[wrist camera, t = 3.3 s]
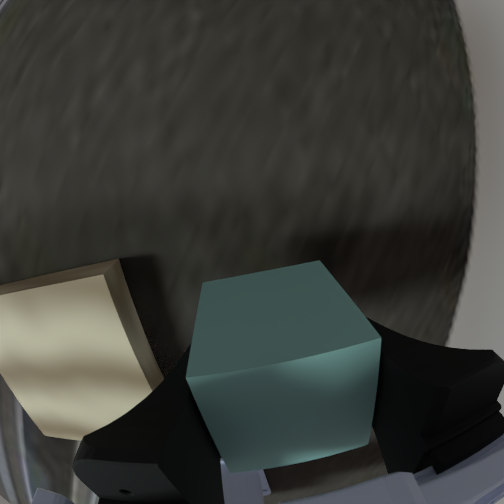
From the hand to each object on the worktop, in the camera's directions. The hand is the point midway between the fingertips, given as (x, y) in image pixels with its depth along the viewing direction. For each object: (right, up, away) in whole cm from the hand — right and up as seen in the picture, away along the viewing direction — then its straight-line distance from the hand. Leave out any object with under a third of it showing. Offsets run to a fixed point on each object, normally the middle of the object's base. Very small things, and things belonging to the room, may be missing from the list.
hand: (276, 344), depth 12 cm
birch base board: (-14, -5, +7) cm, 17 cm away
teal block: (0, +1, +2) cm, 2 cm away
